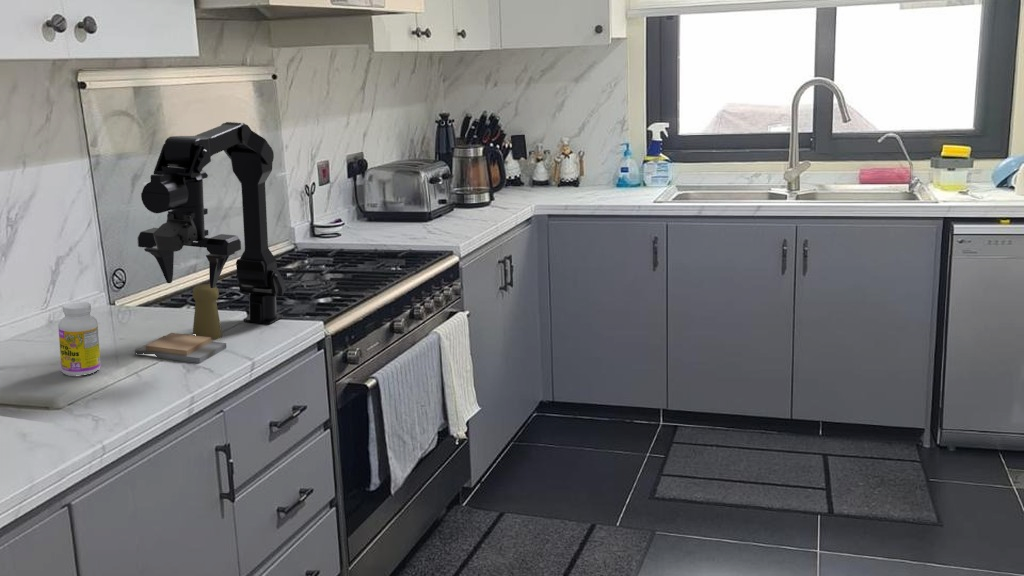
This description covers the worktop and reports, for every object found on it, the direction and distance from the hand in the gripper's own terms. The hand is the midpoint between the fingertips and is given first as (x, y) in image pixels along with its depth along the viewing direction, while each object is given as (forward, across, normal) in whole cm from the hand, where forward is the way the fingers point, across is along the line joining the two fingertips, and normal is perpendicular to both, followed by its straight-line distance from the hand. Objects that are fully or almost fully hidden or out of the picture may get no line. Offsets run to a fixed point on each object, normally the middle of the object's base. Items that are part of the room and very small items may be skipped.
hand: (191, 285), depth 188 cm
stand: (+15, -4, +3) cm, 16 cm away
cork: (+15, -5, +13) cm, 21 cm away
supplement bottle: (+15, -15, -14) cm, 25 cm away
